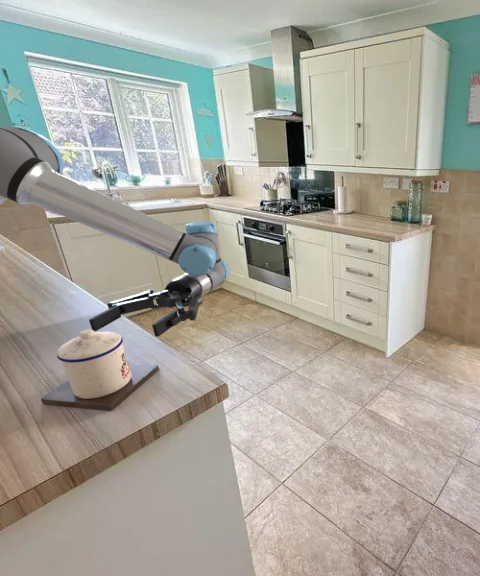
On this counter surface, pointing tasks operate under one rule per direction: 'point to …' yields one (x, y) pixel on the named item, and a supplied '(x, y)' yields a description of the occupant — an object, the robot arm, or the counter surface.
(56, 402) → the serving board
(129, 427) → the counter surface
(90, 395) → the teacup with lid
